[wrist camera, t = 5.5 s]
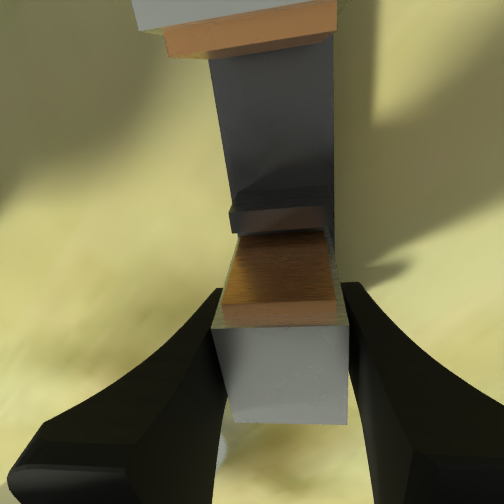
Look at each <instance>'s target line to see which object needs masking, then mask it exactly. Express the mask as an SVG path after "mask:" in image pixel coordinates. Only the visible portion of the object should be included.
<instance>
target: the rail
mask: <svg viewBox="0 0 504 504" xmlns="http://www.w3.org/2000/svg"><path fill="white" fill-rule="evenodd" d="M350 1H351V0H131V2H132V6H133V10H134V14H135V18H136V22H137V26H138V30H139V31H140V32H145V33H150V34H154V35H159V36H164V37H165V41H166V46H167V51H168V55H169V57H174V58H194V59H208V61H209V67H210V73H211V79H212V85H213V91H214V96H215V102H216V108H217V114H218V120H219V126H220V132H221V138H222V144H223V150H224V156H225V162H226V168H227V174H228V180H229V186H230V192H231V198H232V206H231V208H230V210H229V219H230V224H231V230H232V234H233V233H238V238H239V234H240V233H248V232H262V231H276V230H290V229H305V228H319V227H328V229H329V233H330V238H331V243H332V247H333V252H334V257H335V239H334V122H333V33H334V32H335V31H336V30H337V15H338V14H339V12H340V11H341V10H342V9H343V8H344V7H345V6H346V5H347V4H348V3H349V2H350Z"/></svg>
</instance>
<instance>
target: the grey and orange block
mask: <svg viewBox="0 0 504 504" xmlns="http://www.w3.org/2000/svg"><path fill="white" fill-rule="evenodd" d="M211 332H212V336H213V340H214V344H215V348H216V351H217V355H218V359H219V363H220V367H221V371H222V375H223V379H224V383H225V387H226V391H227V395H228V399H229V402H230V406H231V410H232V414H233V418H234V422H240V423H286V424H331V425H347V413H348V362H349V322H348V317H347V313H346V308H345V303H344V299H343V294H342V289H341V285H340V280H339V275H338V271H337V266H336V261H335V257H334V252H333V247H332V243H331V238H330V233H329V229H328V227H319V228H305V229H290V230H276V231H262V232H248V233H240V234H239V238H238V241H237V244H236V248H235V251H234V254H233V257H232V261H231V264H230V267H229V271H228V274H227V277H226V280H225V284H224V287H223V290H222V294H221V297H220V300H219V303H218V307H217V310H216V313H215V316H214V320H213V323H212V326H211Z"/></svg>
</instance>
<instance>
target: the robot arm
mask: <svg viewBox="0 0 504 504" xmlns="http://www.w3.org/2000/svg"><path fill="white" fill-rule="evenodd" d="M340 285H341V289H342V294H343V299H344V303H345V308H346V313H347V317H348V322H349V362H348V371H349V374H350V378H351V382H352V386H353V390H354V394H355V397H356V401H357V405H358V409H359V413H360V418H361V422H362V427H363V433H364V439H365V446H366V452H367V458H368V464H369V471H370V477H371V484H372V490H373V497H374V504H504V405H502V404H500V403H499V402H497V401H496V400H494V399H492V398H491V397H489V396H487V395H486V394H484V393H482V392H481V391H479V390H477V389H476V388H474V387H473V386H471V385H470V384H468V383H467V382H465V381H464V380H462V379H461V378H460V377H458V376H457V375H455V374H454V373H452V372H451V371H449V370H448V369H447V368H445V367H444V366H442V365H441V364H440V363H438V362H437V361H436V360H435V359H433V358H432V357H431V356H430V355H428V354H427V353H426V352H425V351H424V350H422V349H421V348H420V347H419V346H418V345H417V344H415V343H414V342H413V341H412V340H411V339H410V338H409V337H408V336H407V335H406V334H405V333H404V332H403V331H402V330H401V329H400V328H399V327H398V326H397V325H396V324H395V323H394V322H393V321H392V320H391V319H390V318H389V317H388V316H387V315H386V314H385V313H384V312H383V311H382V309H381V308H380V307H379V306H378V305H377V304H376V302H375V301H374V300H373V299H372V298H371V296H370V295H369V294H368V293H367V291H366V290H365V289H364V287H363V286H362V285H361V284H360V283H359V282H346V283H340ZM222 290H223V288H216V289H215V290H214V291H213V292H212V294H211V295H210V296H209V297H208V298H207V299H206V300H205V302H204V303H203V304H202V305H201V306H200V307H199V309H198V310H197V311H196V312H195V313H194V314H193V315H192V316H191V317H190V319H189V320H188V321H187V322H186V323H185V324H184V325H183V326H182V327H181V328H180V329H179V330H178V331H177V332H176V333H175V334H174V335H173V336H172V337H171V338H170V339H169V340H168V341H167V342H166V343H165V344H164V345H163V346H161V347H160V348H159V349H158V350H157V351H156V352H154V353H153V354H152V355H151V356H150V357H148V358H147V359H146V360H145V361H143V362H142V363H141V364H140V365H138V366H137V367H135V368H134V369H133V370H131V371H130V372H128V373H127V374H126V375H124V376H123V377H122V378H120V379H119V380H117V381H116V382H114V383H113V384H111V385H110V386H108V387H107V388H105V389H104V390H102V391H100V392H99V393H97V394H95V395H94V396H92V397H90V398H89V399H87V400H85V401H83V402H82V403H80V404H78V405H76V406H74V407H73V408H71V409H69V410H67V411H65V412H63V413H61V414H59V415H58V416H56V417H54V418H52V419H50V420H48V421H46V422H44V423H43V424H42V425H41V427H40V428H39V430H38V431H37V432H36V434H35V435H34V437H33V438H32V440H31V441H30V442H29V444H28V445H27V447H26V448H25V450H24V451H23V453H22V454H21V455H20V457H19V458H18V460H17V461H16V463H15V464H14V465H13V467H12V468H11V470H10V471H9V473H8V476H7V483H8V487H9V490H10V491H11V493H12V494H13V495H14V497H16V499H17V500H18V501H19V502H20V503H21V504H212V497H213V487H214V478H215V470H216V461H217V454H218V446H219V439H220V432H221V425H222V419H223V414H224V409H225V405H226V401H227V397H228V395H227V391H226V387H225V383H224V379H223V375H222V371H221V367H220V363H219V359H218V355H217V351H216V348H215V344H214V340H213V336H212V332H211V326H212V323H213V320H214V316H215V313H216V310H217V307H218V303H219V300H220V297H221V294H222Z"/></svg>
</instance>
